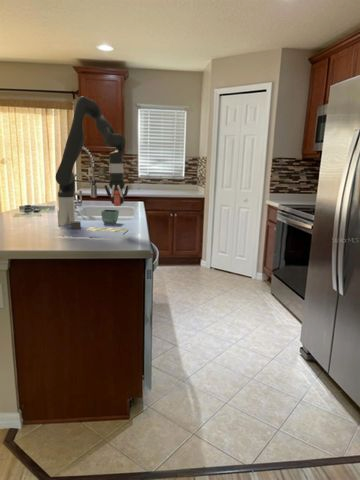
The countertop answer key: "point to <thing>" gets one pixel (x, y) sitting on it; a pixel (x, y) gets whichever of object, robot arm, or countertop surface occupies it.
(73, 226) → the die
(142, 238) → the countertop surface
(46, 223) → the countertop surface
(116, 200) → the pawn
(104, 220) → the flower pot
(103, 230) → the board
